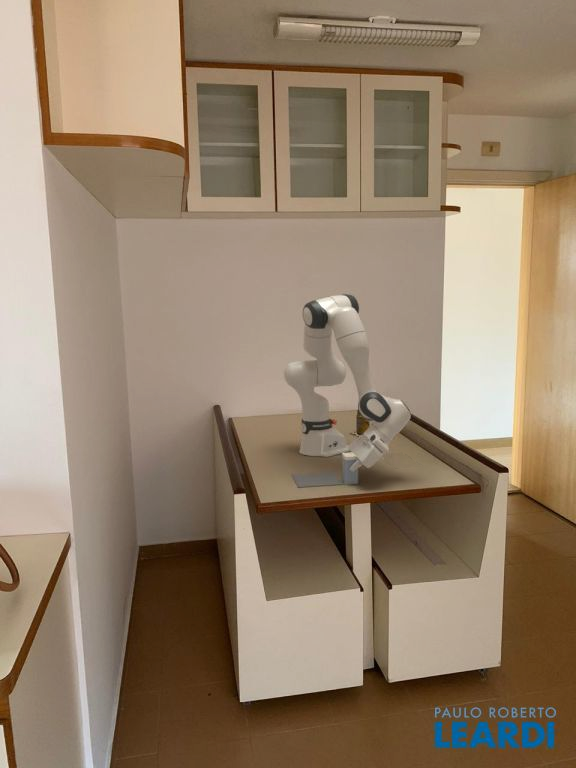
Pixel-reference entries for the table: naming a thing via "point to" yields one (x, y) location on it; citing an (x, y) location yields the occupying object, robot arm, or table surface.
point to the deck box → (347, 474)
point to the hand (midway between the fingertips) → (348, 467)
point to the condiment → (361, 424)
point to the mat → (317, 479)
